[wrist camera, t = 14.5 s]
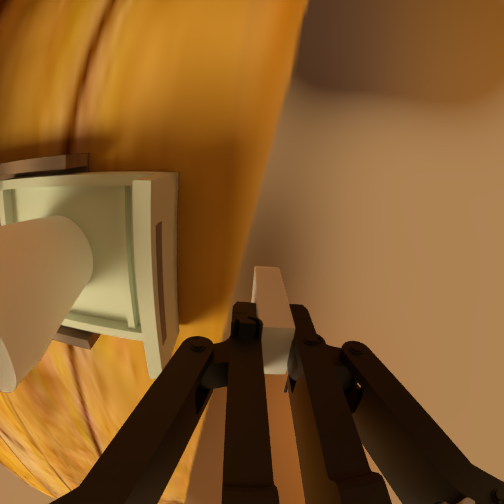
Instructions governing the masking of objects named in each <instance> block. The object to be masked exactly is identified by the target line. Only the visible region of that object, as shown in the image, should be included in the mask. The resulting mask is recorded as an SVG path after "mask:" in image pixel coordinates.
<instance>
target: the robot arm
mask: <svg viewBox="0 0 504 504" xmlns="http://www.w3.org/2000/svg"><path fill="white" fill-rule="evenodd" d="M287 367H288V372H289V373H288V378H287V382H286V386H285V390H284V392H287V389H288V392H289V398H290V405H291V411H292V417H293V424H294V430H295V436H296V443H297V449H298V456H299V463H300V469H301V476H302V483H303V489H304V496H305V504H392V503H391V500H390V496H389V494H388V490H387V487H386V484H385V481H384V479H383V477H382V476H381V475H380V474H379V473H376V472H372V471H371V469H370V467H369V464H368V461H367V458H366V455H365V452H364V449H363V446H364V447H365V449H366V450H367V452H368V453H369V455H370V456H371V458H372V459H373V461H374V462H375V464H376V465H377V466H378V468H379V470H380V471H381V473H382V474H383V476H384V477H385V478H386V480H387V482H388V483H389V485H390V486H391V488H392V489H393V491H394V492H395V493H396V495H397V496H398V498H399V499H400V501H401V502H402V504H504V482H503V481H501V480H499V479H497V478H495V477H493V476H492V475H490V474H488V473H486V472H485V471H483V470H481V469H479V468H478V467H476V466H474V465H472V464H471V463H470V461H469V460H468V459H467V458H466V457H465V456H464V454H463V453H462V452H461V451H460V450H459V449H458V447H457V446H456V445H455V444H454V443H453V442H452V440H450V438H449V437H448V436H447V435H446V434H445V432H444V431H443V430H442V429H441V428H440V427H439V426H438V424H437V423H436V422H435V421H434V420H433V419H432V418H431V416H430V415H429V414H428V413H427V412H426V411H425V410H424V409H423V408H422V406H421V405H420V404H419V403H418V402H417V401H416V400H415V399H414V397H413V396H412V395H411V394H410V393H409V392H408V391H407V390H406V389H405V387H404V386H403V385H402V384H401V383H400V382H399V381H398V380H397V379H396V378H395V376H394V375H393V374H392V373H391V372H390V371H389V370H388V369H387V368H386V367H385V365H384V364H383V363H382V362H381V361H380V360H379V359H378V358H377V357H376V356H375V355H374V353H372V351H371V350H370V349H369V348H368V347H367V346H366V345H364V344H363V343H360V342H356V341H348V342H345V343H344V344H343V346H342V348H337V347H332V346H329V345H327V344H326V343H325V340H324V339H323V338H322V337H321V336H320V335H318V334H316V331H315V329H314V326H313V323H312V321H311V317H310V315H309V312H308V310H307V309H306V308H305V307H304V306H303V305H297V304H289V302H288V299H287V295H286V291H285V288H284V284H283V281H282V277H281V274H280V270H279V268H278V267H262V266H255V272H254V281H253V291H252V301H251V303H249V302H236V304H235V305H234V306H233V312H232V322H231V335H230V337H229V339H227V340H226V341H224V342H221V343H216V344H213V342H212V341H211V340H209V339H208V338H205V337H201V336H194V337H190V338H187V339H186V340H185V341H183V343H182V344H181V345H180V347H179V348H178V349H177V351H176V352H175V354H174V355H173V356H172V358H171V359H170V361H169V362H168V363H167V365H166V366H165V367H164V369H163V370H162V372H161V373H160V374H159V376H158V377H157V379H156V380H155V381H154V383H153V384H152V385H151V387H150V388H149V390H148V391H147V392H146V394H145V395H144V397H143V398H142V399H141V401H140V402H139V404H138V405H137V406H136V408H135V409H134V410H133V412H132V413H131V415H130V416H129V417H128V419H127V420H126V422H125V423H124V424H123V426H122V427H121V429H120V430H119V431H118V433H117V434H116V436H115V437H114V438H113V440H112V441H111V442H110V444H109V445H108V447H107V448H106V449H105V451H104V452H103V454H102V455H101V456H100V458H99V459H98V461H97V462H96V463H95V465H94V466H93V468H92V469H91V470H90V472H89V473H88V475H87V476H86V477H85V479H84V480H83V482H82V483H81V484H80V486H79V487H77V488H75V489H74V490H72V491H70V492H69V493H67V494H65V495H64V496H62V497H60V498H58V499H57V500H55V501H53V502H51V503H50V504H157V503H158V502H159V500H160V498H161V496H162V494H163V492H164V490H165V488H166V486H167V484H168V482H169V480H170V478H171V476H172V474H173V472H174V470H175V468H176V466H177V464H178V462H179V460H180V458H181V456H182V454H183V452H184V450H185V448H186V446H187V444H188V442H189V440H190V438H191V436H192V434H193V432H194V430H195V428H196V426H197V424H198V422H199V419H200V417H201V415H202V413H203V411H204V409H205V407H206V405H207V403H208V401H209V399H210V397H211V394H212V392H213V389H214V388H220V387H226V386H227V403H226V422H225V423H226V424H225V443H224V462H223V486H222V504H279V496H278V490H277V487H276V486H275V485H274V481H273V472H272V459H271V447H270V436H269V423H268V413H267V400H266V389H265V377H264V374H286V370H287ZM357 383H359V385H360V386H361V388H360V387H359V386H358V385H357ZM361 442H362V443H361ZM362 444H363V446H362Z"/></svg>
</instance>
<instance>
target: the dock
mask: <svg viewBox="0 0 504 504" xmlns="http://www.w3.org/2000/svg"><path fill="white" fill-rule="evenodd" d="M88 165H89V153H80V154H68V155H57V156H48V157H40V158H33V159H26V160H19V161H13V162H7V163H1V164H0V180H4V179H9V178H15V177H24V176H35V175H48V174H62V173H82V172H88ZM0 226H1V221H0ZM100 335H101V334H100V333H95V332H90V331H85V330H81V329H76V328H72V327H68V326H64V325H61V326H60V327H59V329H58V331H57V332H56V334H55V336H54V338H53V339H52V340H56V341H59V342H63V343H66V344H70V345H74V346H78V347H82V348H86V349H90V350H91V348H92V347H93V345H94V344H95V342H96V341H97V339H98V338H99V336H100Z"/></svg>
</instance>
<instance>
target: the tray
mask: <svg viewBox="0 0 504 504" xmlns="http://www.w3.org/2000/svg"><path fill="white" fill-rule="evenodd" d="M178 181H179V172H150V171H119V172H82V173H62V174H48V175H35V176H24V177H15V178H9V179H4V180H0V221H1V226H2V225H7V224H12V223H17V222H21V221H26V220H32V219H37V218H42V217H48V216H53V215H60V216H64V217H67V218H69V219H70V220H72V221H73V222H75V223H76V224H77V225H78V226H79V227H80V229H81V230H82V231H83V233H84V234H85V236H86V237H87V239H88V242H89V244H90V247H91V250H92V255H93V272H92V275H91V278H90V280H89V282H88V283H87V285H86V286H85V288H84V289H83V291H82V292H81V294H80V295H79V297H78V298H77V300H76V301H75V303H74V304H73V306H72V308H71V309H70V311H69V312H68V314H67V316H66V317H65V319H64V321H63V322H62V324H61V325H64V326H68V327H72V328H76V329H81V330H85V331H90V332H95V333H100V334H105V335H110V336H115V337H120V338H126V339H132V340H138V341H143V343H144V349H145V355H146V361H147V367H148V372H149V377H150V378H152V379H157V377H158V376H159V374H160V373H161V372H162V370H163V369H164V367H165V366H166V365H167V363H168V362H169V361H170V358H171V355H172V352H173V349H174V346H175V343H176V340H177V337H178V334H179V316H178V289H177V208H178Z"/></svg>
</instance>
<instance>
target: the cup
mask: <svg viewBox="0 0 504 504" xmlns="http://www.w3.org/2000/svg"><path fill="white" fill-rule="evenodd" d="M92 272H93V255H92V250H91V247H90V244H89V242H88V239H87V237H86V236H85V234H84V233H83V231H82V230H81V229H80V227H79V226H78V225H77V224H76V223H75V222H73V221H72V220H70V219H69V218H67V217H64V216H60V215H53V216H48V217H42V218H37V219H32V220H26V221H21V222H17V223H12V224H7V225H2V226H0V391H1V392H6V393H10V392H12V391H14V389H15V388H16V387H17V386H18V385H19V383H20V382H21V381H22V380H23V379H24V377H25V376H26V375H27V374H28V373H29V372H30V371H31V370H32V369H33V368H34V367H35V366H36V365H37V364H38V363H39V361H40V360H41V358H42V357H43V355H44V354H45V352H46V350H47V348H48V346H49V345H50V343H51V341H52V339H53V338H54V336H55V334H56V332H57V331H58V329H59V327H60V326H61V324H62V322H63V321H64V319H65V317H66V316H67V314H68V312H69V311H70V309H71V308H72V306H73V304H74V303H75V301H76V300H77V298H78V297H79V295H80V294H81V292H82V291H83V289H84V288H85V286H86V285H87V283H88V282H89V280H90V278H91V275H92Z"/></svg>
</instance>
